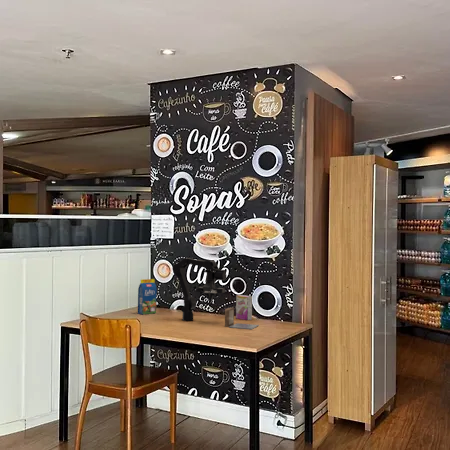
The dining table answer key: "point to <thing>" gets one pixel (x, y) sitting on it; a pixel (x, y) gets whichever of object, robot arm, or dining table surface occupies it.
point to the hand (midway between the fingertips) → (210, 303)
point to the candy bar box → (243, 307)
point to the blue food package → (147, 296)
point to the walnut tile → (229, 317)
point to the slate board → (243, 326)
